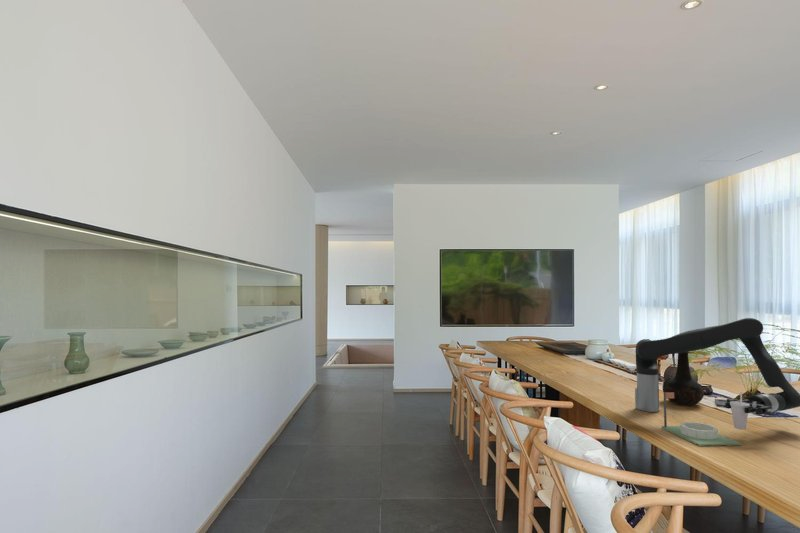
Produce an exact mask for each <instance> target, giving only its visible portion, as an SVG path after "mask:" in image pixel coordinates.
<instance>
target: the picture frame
mask: <svg viewBox="0 0 800 533" xmlns="http://www.w3.org/2000/svg"><path fill="white" fill-rule="evenodd" d="M727 400H728V399H719V398H714V402H716V403H715V406H716V405H717V406H716V407H718V406H724V407H723V408H726V407H725V403H727Z"/></svg>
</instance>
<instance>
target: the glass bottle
mask: <svg viewBox="0 0 800 533" xmlns="http://www.w3.org/2000/svg"><path fill="white" fill-rule="evenodd" d="M690 353H691V351H689V352H682V353H677V364H676V373H675V376H673V377H672V378H671V377H668V378H666V379H665V380H664V381H663V383H662V393H663V394H664V392H665V393H672V392H674V398H669V399H668V400H669V401H670V402H671V403H673V404H676V405H679V406H688V407H689V406H690V407H691V406H694V405H698V404H699V403H700V402H701V401H702V400H703V399H704V396H705V390H704V388H703V387H702V385H701V384H700V383H699V382H698V381H696V380H695V379H693V377H692V374H691V370H690V362H689V354H690Z"/></svg>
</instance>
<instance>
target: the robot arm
mask: <svg viewBox="0 0 800 533" xmlns="http://www.w3.org/2000/svg"><path fill="white" fill-rule="evenodd" d="M763 332H764V325H763V323H762V322H761V321H760V320H758V319H757V318H755V317H754V318H753V317H744V318H741V319H738V320H735V321H732V322H727V323H724V324H721V325H720V324H719V325H713V326H707V327H706V326H705V327H702V328H695V329H691V330H687V331H684V332H680V333H678V334H675V335H673V336H670V337H667V338H663V339H655V340H652V339H648V338H645V339H644V338H643V339H641V340H639V341H638V342H637V343H636V345H635V365H636V366H635V367H636V387H635V388H634V395H635V396H634V400H635V401H634V402H635V403H634V404H635V405H634V408H635V409H637V410H639V411H642V412H647V413H649V412H650V413H656V412H657V413H659V411H660V388H659V385H660V384H659V383H660V382H659V380H660V378H659V377H660V376H659V367H658V366H659V365H658V359H659V358H661V357H666V356H669V355H673V354H678V353H682V352H695V351H699V350H703V349H704V350H705V349H708V348H712V347H715V346H717V345H721V344H723V343H725V342H728V341H733V340H738V339H739V340H740V341H741V342H742V343H743V345H744V346H745V349H747V350H748V352H749V353H750V355H751V357H752V359H753V360H754V363H755V364H756V366H757V369H758V370H759V372H760V374H761V375H762V376H761V377H762V378H763V379H764V381H765V383H766V385H767V386H768V387H769V388H780V389H781V390H782V391H780V392H776V393H774V392H773V393H760V394H758V393H757V394H752V395H749V396H748V397H747V398H746V399H742V402H745V403H748V404H750V406H749V407H745V413H748V414H754V415H756V416H758V415H759V416H760V415H768V414H772V413H774V412H780V411H781V412H782V411H783V412H784V411H787V410H791V409H795V408H799V407H800V393H799V392H798V391H797V390H796V389H795V387H794V386H792V384H791V382H789V381H788V380H787V378H786V377H785V375H784V372H783V371H782V369H781V368H780V366H779V364H778V363H777V362H776V359H774V358H773V356H772V355H771V354H770V353H769V351H768V350H767V348H766V347H765V345H764V343H763V340H762V336H761V335H762V333H763ZM726 400H727V403H725V407H724V408H725V409H727V410H728V409H731V405H730V402H731V401H739V402H740V399H737V398H735V397H734V398H728V399H726Z"/></svg>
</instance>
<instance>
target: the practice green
mask: <svg viewBox="0 0 800 533" xmlns="http://www.w3.org/2000/svg"><path fill="white" fill-rule="evenodd" d="M669 398H674V392H672V393H665V392H664V393H663V418H664V419H663V421H664V424H663V425H661V429H663V430H664V431H667V432H669V431H670V432H669V433H671V432H672V433H671V434H673V433H674V435H675V434H676V435H675V436H677V435H678V436H677V437H679V436H680V437H679V438H681V437H682V438H681V439H683V438H685V439H687V440H686V441H688V440H689V441H688V442H690V441H691V442H690V443H692V442H694V443H696V444H698V445H738V446H741V445H742V443H741V442H740V441H739V442H738V441H736V440H734V439H732V438H729V437H727V436H724V435H722V434H719V433H718V432H719V431H718V428H717V427H716V426H713V425H712V424H708V423H703V422H696V421H695V422H694V421H684V422H683V421H682V422H681V423H680V425H667V400H669ZM685 439H684V440H685ZM694 443H693V444H694ZM696 444H695V445H696ZM698 445H697V446H698Z"/></svg>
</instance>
